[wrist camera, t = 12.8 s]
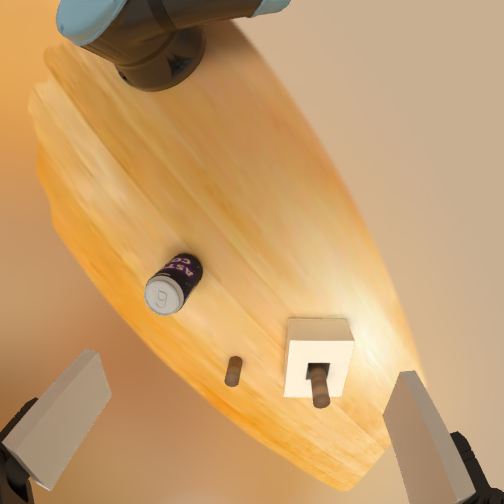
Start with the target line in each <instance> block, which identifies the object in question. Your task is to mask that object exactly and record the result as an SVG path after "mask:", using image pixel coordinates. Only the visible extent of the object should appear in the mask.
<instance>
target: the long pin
mask: <svg viewBox="0 0 504 504" xmlns="http://www.w3.org/2000/svg"><path fill="white" fill-rule="evenodd" d="M309 370H310V378H311V387H312V396H313V405H314V406H315V407H316V408H325V407H327V406H328V405H329V404H330V398H329V392H328V387H327V381H326V376H325V371H324V365H323V363H309Z"/></svg>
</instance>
